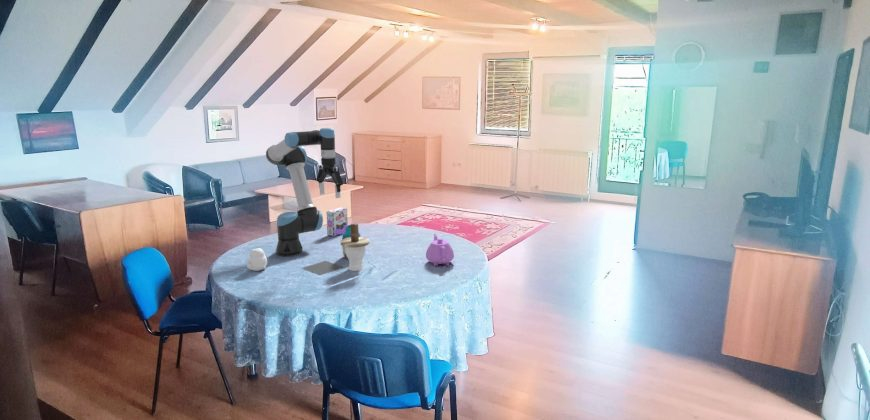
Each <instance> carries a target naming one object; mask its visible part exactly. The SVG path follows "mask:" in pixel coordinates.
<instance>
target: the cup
mask: <svg viewBox="0 0 870 420" xmlns="http://www.w3.org/2000/svg"><path fill="white" fill-rule="evenodd" d="M345 253H346V256H347V257H348V259H347V260H348V263H349V264H348V270H350V271H353V272H358V271H362V270H363V269H364V265H363V260H364V257H365V255H366V246H363V247H345Z"/></svg>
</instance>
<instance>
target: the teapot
mask: <svg viewBox="0 0 870 420" xmlns="http://www.w3.org/2000/svg"><path fill="white" fill-rule="evenodd" d="M425 252H426V253H425V258H426V260H427V261H428V262H429V263H432V266H433V265H434V266H433V267H438V266H437V265H439V264H440V265H441V264H442V265H443V264H444V265H445V266H449V264H450V262H452V261H453V260H454V258H455V252H454V250H453V247H452V245H451V244H450V242H449V241H447V240H444V239H443V238H440V237H439V238H438V236H437V234H436V233H433V240H432V241H431V242H430V244H429V246H428V247H427V248H426V251H425Z"/></svg>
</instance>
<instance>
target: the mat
mask: <svg viewBox="0 0 870 420" xmlns="http://www.w3.org/2000/svg"><path fill="white" fill-rule="evenodd" d="M343 268H345V266H342V265H339V264H336V263H333V262H330V261H327V260H324V261H321V262H317V263H313V264H310V265H307V266H304V267H303V266H302V267H301V269H303V270H305V271H307V272H310V273H312V274H315V275H318V276H322V275H325V274H327V273H331V272H334V271H337V270H339V269H343Z"/></svg>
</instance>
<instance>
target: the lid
mask: <svg viewBox="0 0 870 420" xmlns="http://www.w3.org/2000/svg"><path fill="white" fill-rule="evenodd" d="M349 225H351V237H349V238H345V239H342V238H341V240H340V246H341V247H342V246H344V247H363V246H365V247H366V246H368V245H370V239H369V238H367V237H362V236H361V237H359V233H360V232H359V223H355V222H354V223H350V224H349Z"/></svg>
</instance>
